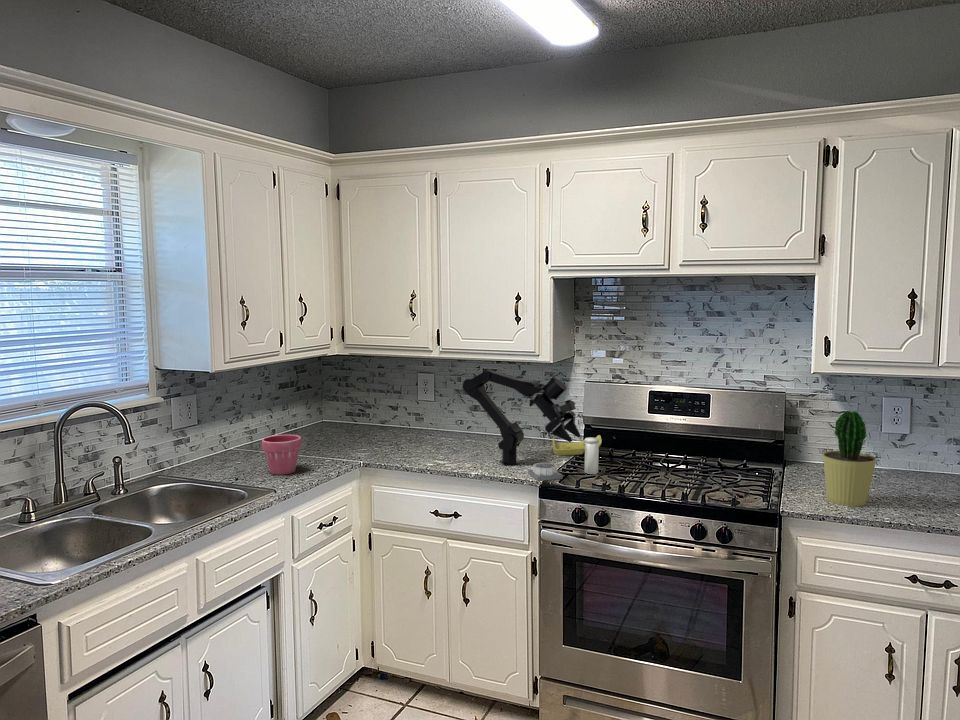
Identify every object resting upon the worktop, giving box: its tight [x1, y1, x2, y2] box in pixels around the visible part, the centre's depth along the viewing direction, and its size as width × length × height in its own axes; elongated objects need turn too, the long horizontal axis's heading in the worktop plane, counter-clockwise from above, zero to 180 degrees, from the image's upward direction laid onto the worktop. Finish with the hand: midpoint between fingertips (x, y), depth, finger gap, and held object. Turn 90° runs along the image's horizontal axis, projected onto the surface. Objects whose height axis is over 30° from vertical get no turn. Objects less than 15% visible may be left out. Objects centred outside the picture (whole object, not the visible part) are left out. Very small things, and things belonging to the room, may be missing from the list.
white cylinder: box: [583, 436, 600, 475], centre depth 266 cm, size 5×5×13 cm
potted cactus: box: [822, 410, 877, 507], centre depth 232 cm, size 15×15×30 cm
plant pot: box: [261, 434, 302, 475], centre depth 268 cm, size 14×14×13 cm
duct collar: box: [527, 462, 563, 482], centre depth 262 cm, size 10×10×4 cm
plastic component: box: [552, 434, 602, 456], centre depth 299 cm, size 20×7×10 cm
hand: (575, 439), depth 268 cm, fingers open, 9 cm apart
